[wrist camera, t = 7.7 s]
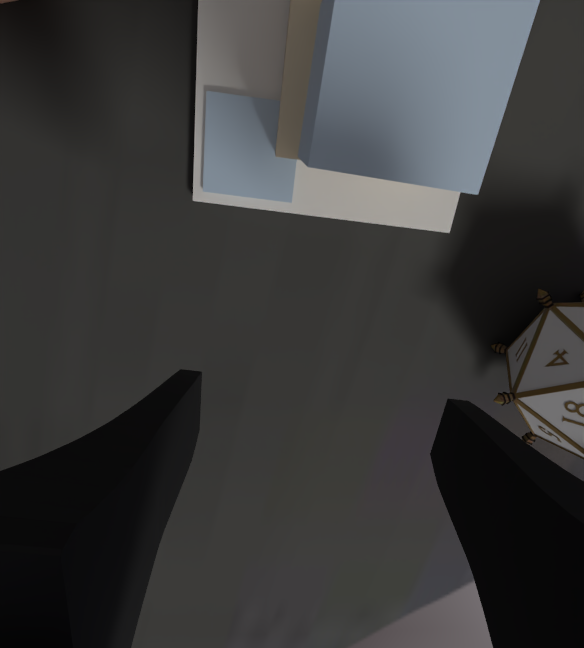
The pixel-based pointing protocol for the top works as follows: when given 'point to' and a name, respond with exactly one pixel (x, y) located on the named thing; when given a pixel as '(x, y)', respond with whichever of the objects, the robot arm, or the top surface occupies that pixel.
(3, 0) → the terracotta block
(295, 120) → the maple base block
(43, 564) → the robot arm
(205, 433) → the top surface
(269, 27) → the mat
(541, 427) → the game die
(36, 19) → the top surface
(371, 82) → the blue-grey block
